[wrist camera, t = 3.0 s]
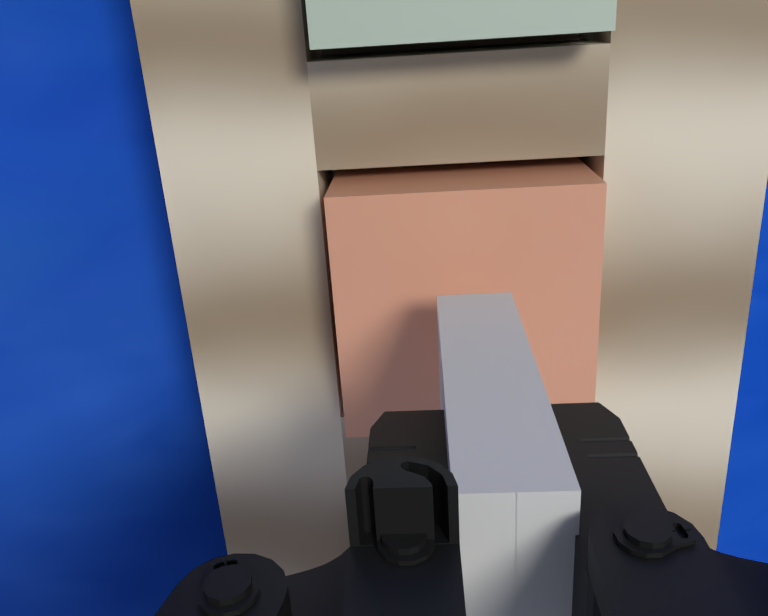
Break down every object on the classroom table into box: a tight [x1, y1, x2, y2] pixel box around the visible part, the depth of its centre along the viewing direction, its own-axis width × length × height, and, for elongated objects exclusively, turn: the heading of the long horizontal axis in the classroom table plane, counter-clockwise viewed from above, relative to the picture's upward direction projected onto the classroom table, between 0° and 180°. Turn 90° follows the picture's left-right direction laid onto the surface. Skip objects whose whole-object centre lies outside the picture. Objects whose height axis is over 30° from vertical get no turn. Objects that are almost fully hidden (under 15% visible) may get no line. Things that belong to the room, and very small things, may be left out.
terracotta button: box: [324, 157, 607, 438], centre depth 18 cm, size 6×6×3 cm
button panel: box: [130, 0, 768, 576], centre depth 20 cm, size 28×14×4 cm, turn 4°
